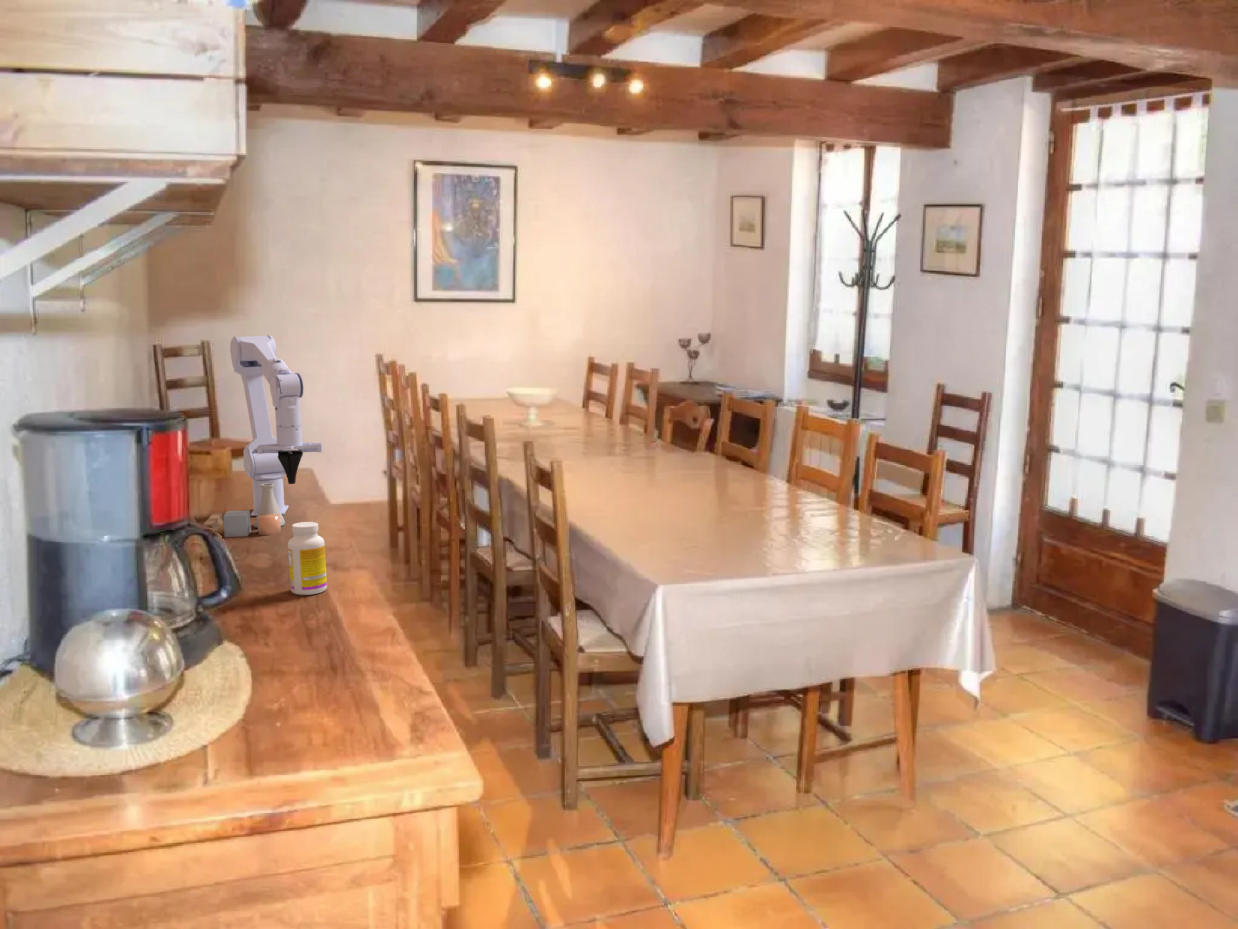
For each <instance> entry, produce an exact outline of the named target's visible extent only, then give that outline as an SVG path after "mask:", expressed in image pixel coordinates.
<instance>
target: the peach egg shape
mask: <svg viewBox="0 0 1238 929" xmlns="http://www.w3.org/2000/svg"><path fill="white" fill-rule="evenodd" d="M256 518H257V520H258V527H257V532H258V535H260V536H273V535H278V534H281V533H282V530H281V529H282V526H281V524H280V515H279V514H262V515H259V516H256Z"/></svg>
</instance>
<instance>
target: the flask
mask: <svg viewBox="0 0 1238 929" xmlns="http://www.w3.org/2000/svg"><path fill="white" fill-rule="evenodd" d="M260 487H261V489H262V497H261V503H260V507H259V511H258V514H257V516H259V515H262V514H279V515H280V524H281V527H282V526H285V524H286V521H285V519H284V516H283V515H282V514H281V512H280V510H279V507H278V505H277V503H276V500H275V497H274V493H273V487H274V484H273V483H264V484H261V485H260ZM257 516H256V518H255V522H254V525H253V528H258V520H257Z"/></svg>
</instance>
